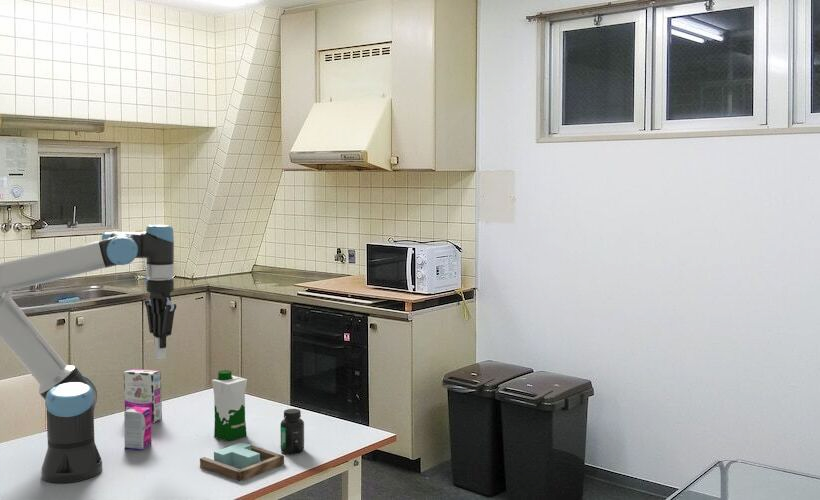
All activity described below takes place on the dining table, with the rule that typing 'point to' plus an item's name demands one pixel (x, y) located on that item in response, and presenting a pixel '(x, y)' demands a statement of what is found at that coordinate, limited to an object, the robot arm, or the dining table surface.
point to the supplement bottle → (292, 432)
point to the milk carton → (229, 406)
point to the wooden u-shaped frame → (231, 472)
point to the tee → (237, 455)
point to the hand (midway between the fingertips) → (160, 358)
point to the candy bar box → (143, 391)
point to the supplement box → (137, 428)
